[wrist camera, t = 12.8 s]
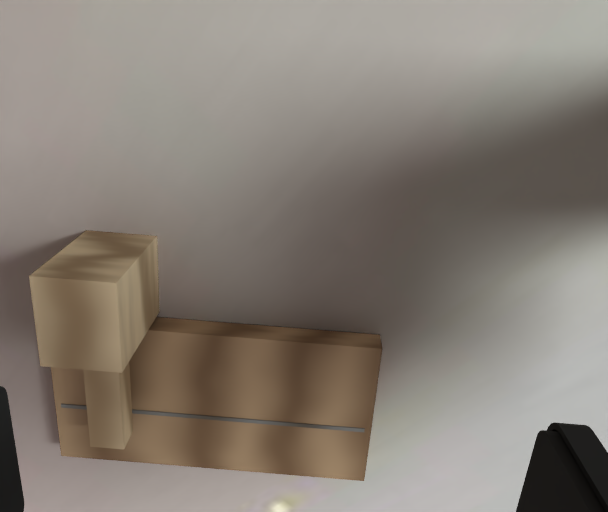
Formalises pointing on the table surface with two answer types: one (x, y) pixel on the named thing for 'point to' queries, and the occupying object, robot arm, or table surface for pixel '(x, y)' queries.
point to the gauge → (98, 320)
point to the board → (239, 399)
